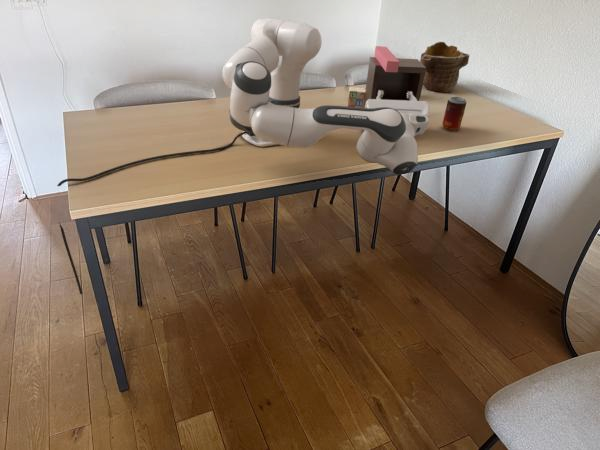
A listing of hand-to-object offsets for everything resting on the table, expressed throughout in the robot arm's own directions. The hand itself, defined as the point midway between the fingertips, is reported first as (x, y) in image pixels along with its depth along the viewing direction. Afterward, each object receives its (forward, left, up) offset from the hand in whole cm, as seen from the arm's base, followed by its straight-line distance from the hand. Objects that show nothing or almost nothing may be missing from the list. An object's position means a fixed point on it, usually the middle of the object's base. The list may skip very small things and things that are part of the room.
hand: (394, 92), depth 145 cm
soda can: (+42, +3, -22) cm, 47 cm away
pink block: (+11, +16, +4) cm, 20 cm away
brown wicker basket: (+81, +42, -22) cm, 94 cm away
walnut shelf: (+17, +15, -22) cm, 31 cm away
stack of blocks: (+27, +33, -22) cm, 48 cm away
